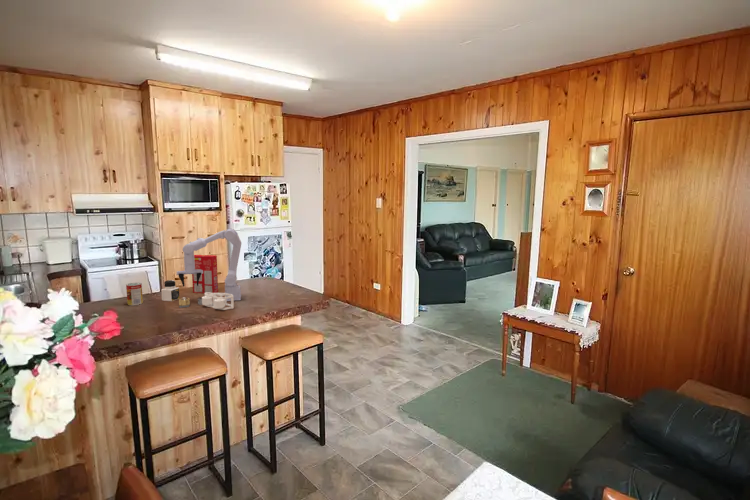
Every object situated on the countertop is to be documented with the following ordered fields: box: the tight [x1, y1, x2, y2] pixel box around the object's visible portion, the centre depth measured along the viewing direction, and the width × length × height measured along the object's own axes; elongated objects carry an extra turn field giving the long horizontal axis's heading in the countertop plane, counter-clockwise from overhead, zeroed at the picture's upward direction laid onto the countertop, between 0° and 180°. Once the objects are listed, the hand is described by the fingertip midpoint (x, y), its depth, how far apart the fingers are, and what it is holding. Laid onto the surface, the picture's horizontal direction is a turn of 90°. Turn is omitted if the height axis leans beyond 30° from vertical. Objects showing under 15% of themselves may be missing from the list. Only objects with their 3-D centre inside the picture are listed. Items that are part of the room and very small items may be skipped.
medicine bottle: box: [161, 279, 180, 302], centre depth 249 cm, size 7×7×12 cm
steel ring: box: [197, 296, 203, 306], centre depth 242 cm, size 6×6×3 cm
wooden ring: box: [178, 297, 191, 306], centre depth 236 cm, size 6×6×3 cm
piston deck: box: [178, 296, 191, 309], centre depth 236 cm, size 5×6×5 cm
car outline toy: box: [201, 292, 235, 311], centre depth 235 cm, size 20×11×7 cm, turn 59°
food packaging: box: [191, 254, 219, 294], centre depth 266 cm, size 15×5×25 cm, turn 84°
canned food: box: [125, 282, 144, 306], centre depth 239 cm, size 8×8×12 cm
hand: (190, 285), depth 244 cm, fingers open, 7 cm apart
